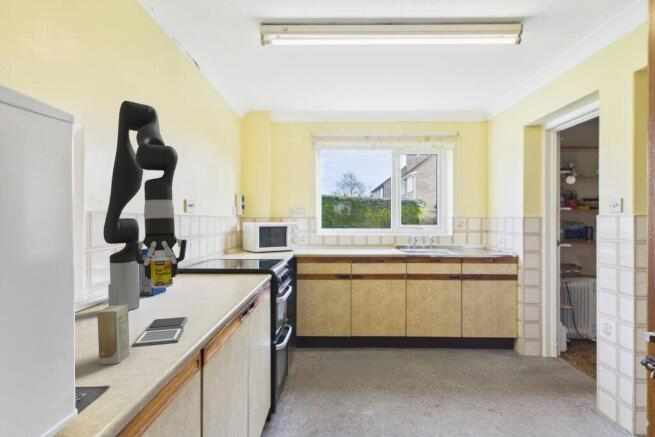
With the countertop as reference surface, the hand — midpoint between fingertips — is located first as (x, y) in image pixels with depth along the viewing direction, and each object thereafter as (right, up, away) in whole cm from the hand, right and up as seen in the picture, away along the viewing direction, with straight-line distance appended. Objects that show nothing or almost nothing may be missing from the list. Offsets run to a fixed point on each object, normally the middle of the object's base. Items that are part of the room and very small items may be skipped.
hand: (161, 277), depth 102 cm
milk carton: (-30, -17, +59) cm, 69 cm away
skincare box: (-4, -17, -16) cm, 23 cm away
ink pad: (-3, -16, +10) cm, 20 cm away
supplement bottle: (0, -3, 0) cm, 3 cm away
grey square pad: (0, -16, -1) cm, 16 cm away
